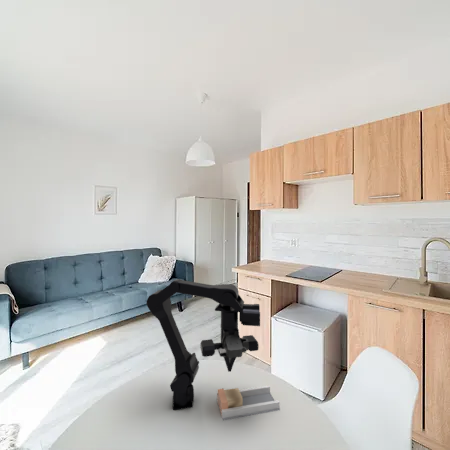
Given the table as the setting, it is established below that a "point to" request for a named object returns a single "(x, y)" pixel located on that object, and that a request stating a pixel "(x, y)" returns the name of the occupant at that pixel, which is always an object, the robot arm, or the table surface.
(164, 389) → the table surface
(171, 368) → the table surface
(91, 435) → the table surface
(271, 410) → the channel
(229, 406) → the tan block
